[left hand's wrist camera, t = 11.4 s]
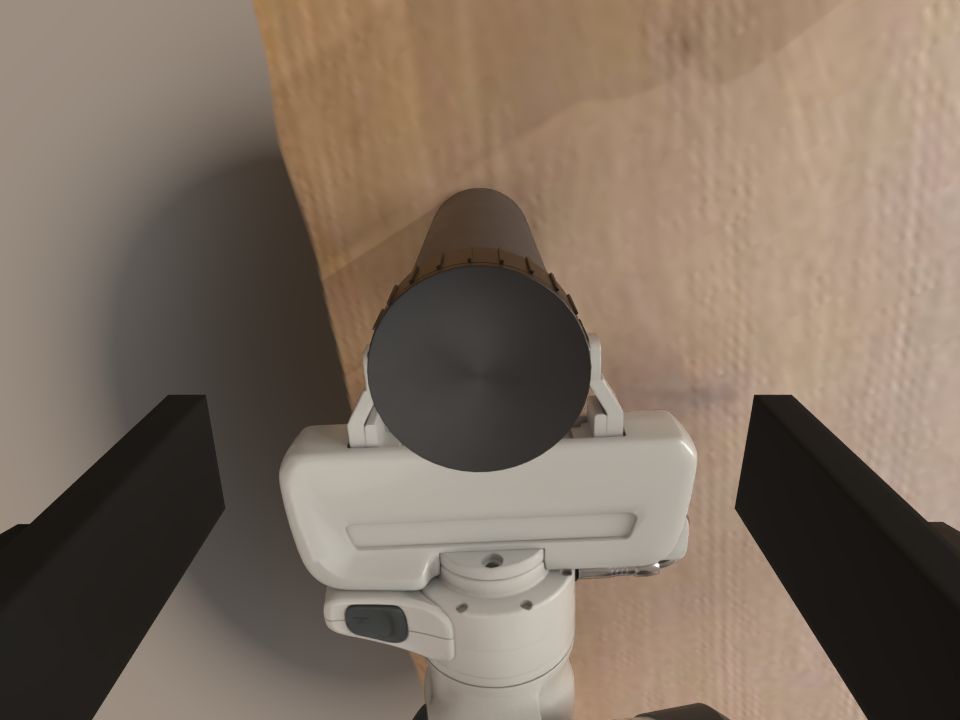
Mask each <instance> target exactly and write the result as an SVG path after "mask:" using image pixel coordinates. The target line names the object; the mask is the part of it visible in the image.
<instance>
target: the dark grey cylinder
mask: <svg viewBox="0 0 960 720" xmlns="http://www.w3.org/2000/svg"><path fill="white" fill-rule="evenodd" d="M468 246H472V248H492V249H498V247H501V248H502V250H503V251H507V252H511V253H514V254H517V255H519V256H522V257H524V258H526V256H527V257H529V258H530V260H531V261H532V262H533V263H535V264H537V265H538V266H539V267H541V268H542V269H544V270H545V271H546V269H545V266H544V264H543V261H542V259H541V256H540V254H539V251H538V249H537V246H536V244H535V241H534V239H533V236H532V233H531V231H530V228H529V226H528V223H527V221H526V219H525V216H524V214H523V213H522V211H521V209H520V208H519V207H518V206H517V204H515V203H514V202H513V201H512V200H511V199H510V198H509V197H507V196H505V195H504V194H502V193H500V192H497V191H495V190H490V189H484V188H474V189H468V190H465V191H462V192H460V193H457V194H455V195H454V196H452V197H451V198H449V199H448V200H447V201H446V202H445V203H444V204H443V205H442V206H441V207H440V209H439V210H438V211H437V213H436V215H435V217H434V219H433V221H432V224H431V226H430V229H429V231H428V234H427V236H426V239H425V241H424V244H423V246H422V249H421V251H420V253H419V256H418V258H417V261H416V263H415V266H416V265H417V266H418V267H419V266H420V265H422V264H424V263H425V262H427V261H429V260H430V259H433V258H435V257H437V256H439V253H440V252H443V253H448V252H451V251H455V250H460V249H466V248H468ZM415 266H414V267H415ZM546 272H547V271H546Z"/></svg>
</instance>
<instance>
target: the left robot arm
mask: <svg viewBox="0 0 960 720" xmlns="http://www.w3.org/2000/svg"><path fill="white" fill-rule="evenodd" d="M224 510H225V504H224V498H223V493H222V487H221V481H220V475H219V470H218V464H217V458H216V452H215V446H214V440H213V434H212V429H211V423H210V417H209V411H208V405H207V400H206V395H168V396H167V397H166V398H165V399H163V400H162V401H161V402H160V403H159V404H158V405H157V406H156V407H155V408H154V409H153V410H152V411H151V412H150V413H148V414H147V415H146V416H145V417H144V418H143V419H142V420H141V421H140V422H139V423H138V424H137V425H136V426H134V427H133V428H132V429H131V430H130V431H129V432H128V433H127V434H126V435H125V436H124V437H123V438H122V439H121V440H120V441H118V442H117V443H116V444H115V445H114V446H113V447H112V448H111V449H110V450H109V451H108V452H107V453H106V454H104V455H103V456H102V457H101V458H100V459H99V460H98V461H97V462H96V463H95V464H94V465H93V466H92V467H91V468H89V469H88V470H87V471H86V472H85V473H84V474H83V475H82V476H81V477H80V478H79V479H78V480H77V481H76V482H75V483H73V484H72V485H71V486H70V487H69V488H68V489H67V490H66V491H65V492H64V493H63V494H62V495H60V496H59V497H58V498H57V499H56V500H55V501H54V502H53V503H52V504H51V505H50V506H49V507H48V508H47V509H45V510H44V511H43V512H42V513H41V514H40V515H39V516H38V517H37V518H36V519H35V520H34V521H33V522H32V523H30V524H17V525H16V526H14V527H12V528H10V529H9V530H7V531H5V532H3V533H2V534H0V720H92V719H93V717H94V716H95V714H96V713H97V711H98V709H99V708H100V706H101V705H102V703H103V701H104V700H105V698H106V697H107V695H108V694H109V692H110V690H111V689H112V687H113V686H114V684H115V682H116V681H117V679H118V678H119V676H120V674H121V673H122V671H123V670H124V668H125V667H126V665H127V663H128V662H129V660H130V659H131V657H132V655H133V654H134V652H135V651H136V649H137V648H138V646H139V644H140V643H141V641H142V640H143V638H144V636H145V635H146V633H147V632H148V630H149V628H150V627H151V625H152V624H153V622H154V620H155V619H156V617H157V616H158V614H159V613H160V611H161V609H162V608H163V606H164V605H165V603H166V602H167V600H168V598H169V597H170V595H171V594H172V592H173V590H174V589H175V587H176V586H177V584H178V583H179V581H180V579H181V578H182V576H183V575H184V573H185V571H186V570H187V568H188V567H189V565H190V563H191V562H192V560H193V559H194V557H195V556H196V554H197V552H198V551H199V549H200V548H201V546H202V544H203V543H204V541H205V540H206V538H207V537H208V535H209V533H210V532H211V530H212V529H213V527H214V525H215V524H216V522H217V521H218V519H219V517H220V516H221V514H222V513H223V511H224ZM735 510H736V511H737V513H738V514H739V516H740V517H741V519H742V521H743V522H744V524H745V525H746V527H747V529H748V530H749V532H750V533H751V535H752V537H753V538H754V540H755V541H756V543H757V544H758V546H759V548H760V549H761V551H762V552H763V554H764V556H765V557H766V559H767V560H768V562H769V563H770V565H771V567H772V568H773V570H774V571H775V573H776V575H777V576H778V578H779V579H780V581H781V583H782V584H783V586H784V587H785V589H786V590H787V592H788V594H789V595H790V597H791V598H792V600H793V602H794V603H795V605H796V606H797V608H798V609H799V611H800V613H801V614H802V616H803V617H804V619H805V621H806V622H807V624H808V625H809V627H810V629H811V630H812V632H813V633H814V635H815V636H816V638H817V640H818V641H819V643H820V644H821V646H822V648H823V649H824V651H825V652H826V654H827V655H828V657H829V659H830V660H831V662H832V663H833V665H834V667H835V668H836V670H837V671H838V673H839V674H840V676H841V678H842V679H843V681H844V682H845V684H846V686H847V687H848V689H849V690H850V692H851V694H852V695H853V697H854V698H855V700H856V701H857V703H858V705H859V706H860V708H861V709H862V711H863V713H864V714H865V716H866V717H867V719H868V720H960V532H959V531H958V530H956V529H954V528H952V527H951V526H949V525H947V524H945V523H944V522H927V521H926V520H925V519H924V518H923V517H922V516H921V515H920V514H919V513H918V512H917V511H916V510H915V509H913V508H912V507H911V506H910V505H909V504H908V503H907V502H906V501H905V500H904V499H903V498H902V497H901V496H900V495H898V494H897V493H896V492H895V491H894V490H893V489H892V488H891V487H890V486H889V485H888V484H887V483H886V482H885V481H883V480H882V479H881V478H880V477H879V476H878V475H877V474H876V473H875V472H874V471H873V470H872V469H871V468H869V467H868V466H867V465H866V464H865V463H864V462H863V461H862V460H861V459H860V458H859V457H858V456H857V455H856V454H854V453H853V452H852V451H851V450H850V449H849V448H848V447H847V446H846V445H845V444H844V443H843V442H842V441H841V440H839V439H838V438H837V437H836V436H835V435H834V434H833V433H832V432H831V431H830V430H829V429H828V428H827V427H826V426H824V425H823V424H822V423H821V422H820V421H819V420H818V419H817V418H816V417H815V416H814V415H813V414H812V413H810V412H809V411H808V410H807V409H806V408H805V407H804V406H803V405H802V404H801V403H800V402H799V401H798V400H797V399H795V398H794V397H793V396H792V395H754V399H753V405H752V411H751V417H750V423H749V429H748V434H747V440H746V446H745V452H744V458H743V463H742V469H741V475H740V481H739V487H738V493H737V498H736V504H735Z"/></svg>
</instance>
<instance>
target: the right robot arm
mask: <svg viewBox="0 0 960 720" xmlns="http://www.w3.org/2000/svg"><path fill="white" fill-rule="evenodd" d="M587 335H588V337H589V341H587V342H588V346H589V350H590V357H591V366H592V368H591V381H590V387H591V389H592V390H593V392H594V394H595V395H596V396H589V397H588V401H587V413H580V415H579V417H578V419H577V420H576V422H575V423H574V425H573V426H572V428H571V429H570V430H569V431H568V432H567V433H566V435H565V436H564V437H563V438H562V439H561V440H560V441H559V442H558V443H557V444H555V445H554V446H553V447H552V448H551V449H549V450H548V451H546V452H545V453H544V454H542V455H541V456H539V457H537V458H535V459H533V460H531V461H529V462H527V463H524V464H522V465H519V466H516V467H513V468H509V469H505V470H500V471H493V472H466V471H459V470H454V469H449V468H446V467H443V466H440V465H437V464H434V463H432V462H430V461H428V460H425V459H423V458H422V457H420V456H418V455H417V454H415V453H413V452H412V451H410V450H409V449H408V448H407V447H405V446H404V445H403V444H402V443H401V442H400V441H399V440H398V439H397V438H396V437H395V436H394V435H393V434H392V433H391V432H390V431H389V429H388V428H387V427H386V425H385V424H384V423H383V421H382V419H381V417H380V416H379V414H378V412H377V410H376V408H375V406H373V404H374V403H373V400H372V398H371V393H370V389H369V385H368V376H367V360H368V358H367V353H368V351H369V348H370V344H367V345H366V347H365V350H364V352H363V368H364V376H365V384H366V385H365V387H364V389H363V391H362V393H361V395H360V397H359V399H358V401H357V403H356V405H355V408H354V410H353V412H352V415H351V417H350V420H349V422H348V424H337V425H314V426H308V427H306V428H304V429H303V430H302V431H301V433H300V434H299V435H298V436H297V437H296V439H295V440H294V441H293V443H292V444H291V446H290V447H289V449H288V451H287V452H286V454H285V456H284V458H283V461H282V464H281V466H280V471H279V481H280V488H281V494H282V498H283V503H284V507H285V511H286V514H287V518H288V522H289V525H290V528H291V531H292V535H293V538H294V541H295V543H296V546H297V549H298V552H299V554H300V557H301V559H302V561H303V563H304V565H305V566H306V568H307V569H308V571H309V572H310V573H311V574H312V576H314V577H315V578H316V579H317V580H318V581H320V582H321V583H323V584H325V585H327V588H326V593H325V601H324V618H325V622H326V624H327V626H328V627H329V628H330V629H331V630H332V631H334V632H337V633H339V634H343V635H347V636H352V637H357V638H362V639H367V640H371V641H376V642H380V643H384V644H388V645H392V646H395V647H399V648H402V649H405V650H408V651H411V652H414V653H417V654H419V655H422V656H424V657H425V659H426V661H427V663H428V667H427V670H426V675H425V682H424V694H425V704H424V705H423V706H422V707H421V708H420V710H419V711H418V712H417V714H416V715H415V717H414V718H413V720H574V700H575V686H574V675H573V671H572V667H571V664H570V662H569V659H568V658H569V656H570V653H571V650H572V647H573V643H574V636H575V581H577V579H599V578H610V577H615V576H620V575H621V576H625V575H634V576H636V577H646V576H652V575H656V574H658V573H659V569H660V568H663V567H667V566H669V565H671V564H673V563H675V562H676V561H677V560H679V559H681V558H683V557H684V555H685V553H686V551H687V547H688V535H689V518H688V515H687V512H688V508H689V504H690V500H691V496H692V491H693V486H694V480H695V474H696V467H697V451H696V448H695V445H694V443H693V441H692V439H691V437H690V436H689V434H688V433H687V431H686V430H685V428H684V427H683V426H682V425H681V424H680V422H679V421H678V420H677V419H676V418H675V417H674V416H673V415H672V414H671V413H669V412H668V411H666V410H643V411H622V408H621V406H620V404H619V402H618V400H617V398H616V395H615V394H614V392H613V390H612V389H611V387H610V386H609V384H608V382H607V381H606V379H605V378H604V376H603V374H602V373H601V345H600V340H599V338H598V336H597V334H596V333H590V334H587ZM372 406H373V407H372ZM613 720H730V719H728V718H727V717H725V716H724V715H722V714H721V713H719V712H717V711H716V710H714V709H712V708H711V707H709V706H707V705H705V704H702V703H695V704H690V705H685V706H680V707H675V708H669V709H664V710H659V711H654V712H648V713H643V714H639V715H637V716H636V717H634V718H624V719H613Z"/></svg>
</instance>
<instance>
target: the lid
mask: <svg viewBox="0 0 960 720" xmlns="http://www.w3.org/2000/svg"><path fill="white" fill-rule="evenodd" d="M577 314H578V311H577V309H576V307H575V305H574V303H573V300H572V298H571V296H570V295H569V294H568V295H566V293H565V292H564V290H563V289H562V288H561V287H560V285H559V284H558V283H557V281H556V280H555V277H554V275H553V274H552V273H550V274H548V273H547V272H546V271H545V270H544V269H542V268H541V267H539V266H538V265H537V264H535V263H533V262H532V261H531V260H530V258H529V257H527V256H526V258H524V257H522V256H519V255H517V254H514V253H511V252H507V251H503V250H502V248H501V247H498V249H492V248H472V246H468V248H466V249H460V250H455V251H451V252H448V253H443V252H440V253H439V256H437V257H435V258H433V259H430V260H429V261H427V262H425V263H424V264H422V265H420V266H419V267H418V266H417V265H416V266H415V267H414V268H413V271H412V272H411V273H410V274H409V275H408V276H407V277H406V278H405V279H404V280H403V281H402V282H401V283H400V284H399V286H397V285H395V287H394V288H393V290H392V293H391V295H390V297H389V299H388V301H387V306H386V308H385V309H382V310H381V312H380V314H379V316H378V318H377V320H376V322H375V324H374V327H373V330H375V331H374V334H373V337H372V340H371V343H370V348H369V351H368V353H367V358H368V360H367V376H368V385H369V389H370V393H371V398H372V400H373V403H374V405H375V408H376V410H377V412H378V414H379V416H380V417H381V419H382V421H383V423H384V424H385V425H386V427H387V428H388V429H389V431H390V432H391V433H392V434H393V435H394V436H395V437H396V438H397V439H398V440H399V441H400V442H401V443H402V444H403V445H404V446H405V447H407V448H408V449H409V450H410V451H412V452H413V453H415V454H417V455H418V456H420V457H422V458H423V459H425V460H428V461H430V462H432V463H434V464H437V465H440V466H443V467H446V468H449V469H454V470H459V471H466V472H493V471H500V470H505V469H509V468H513V467H516V466H519V465H522V464H524V463H527V462H529V461H531V460H533V459H535V458H537V457H539V456H541V455H542V454H544V453H545V452H546V451H548V450H549V449H551V448H552V447H553V446H554V445H555V444H557V443H558V442H559V441H560V440H561V439H562V438H563V437H564V436H565V435H566V433H567V432H568V431H569V430H570V429H571V428H572V426H573V425H574V423H575V422H576V420H577V419H578V417H579V415H580V413H581V411H582V409H583V407H584V404H585V401H586V398H587V395H588V392H589V387H590V381H591V368H592V366H591V357H590V350H589V346H588V342H587V341H589V337H588V335H587V333H586V331H585V329H584V327H583V325H582V322H581V320H580V319H578V317H577Z"/></svg>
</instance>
